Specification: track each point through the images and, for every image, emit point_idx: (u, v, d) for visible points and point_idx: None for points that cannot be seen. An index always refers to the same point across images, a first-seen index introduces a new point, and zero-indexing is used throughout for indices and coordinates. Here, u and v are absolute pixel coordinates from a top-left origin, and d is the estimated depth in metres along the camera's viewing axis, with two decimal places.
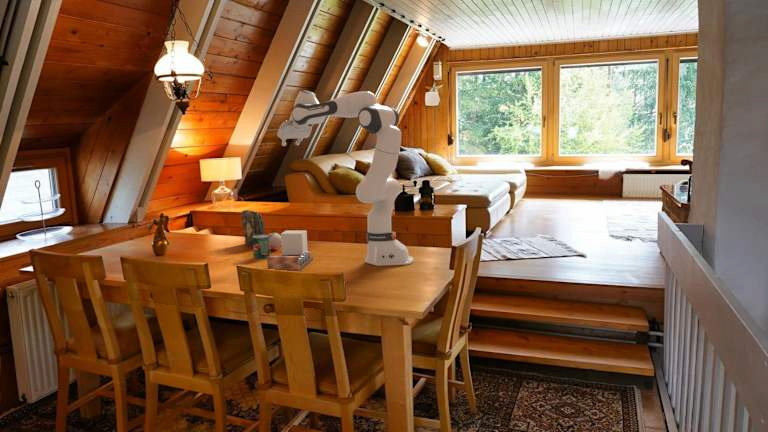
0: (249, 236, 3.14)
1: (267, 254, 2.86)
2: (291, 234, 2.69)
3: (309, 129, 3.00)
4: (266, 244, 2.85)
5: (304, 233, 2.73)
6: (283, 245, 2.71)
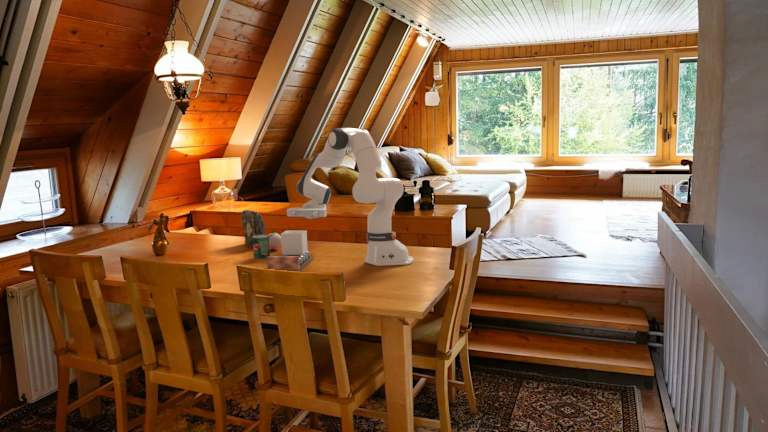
0: (249, 236, 3.14)
1: (267, 254, 2.86)
2: (291, 234, 2.69)
3: (323, 207, 2.97)
4: (266, 244, 2.85)
5: (304, 233, 2.73)
6: (283, 245, 2.71)
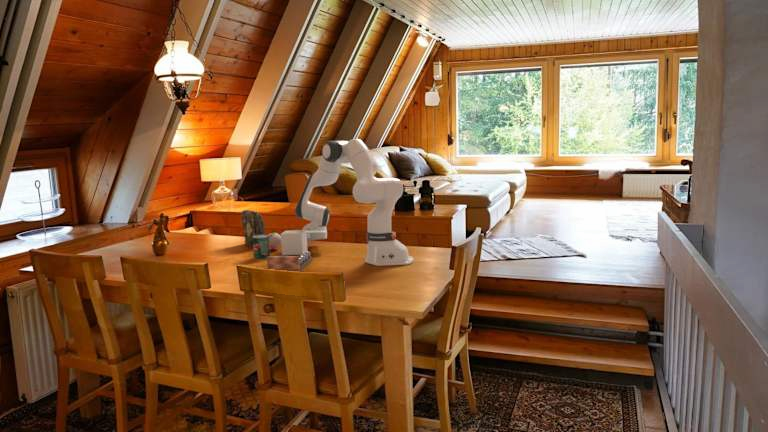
0: (249, 236, 3.14)
1: (267, 254, 2.86)
2: (291, 234, 2.69)
3: (323, 229, 2.96)
4: (266, 244, 2.85)
5: (304, 233, 2.73)
6: (283, 245, 2.71)
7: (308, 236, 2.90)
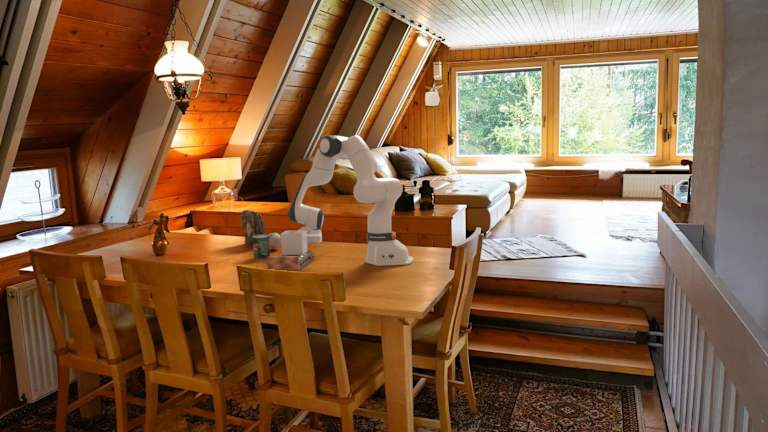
0: (249, 236, 3.14)
1: (267, 254, 2.86)
2: (291, 234, 2.69)
3: (318, 233, 2.86)
4: (266, 244, 2.85)
5: (304, 233, 2.73)
6: (283, 245, 2.71)
7: None
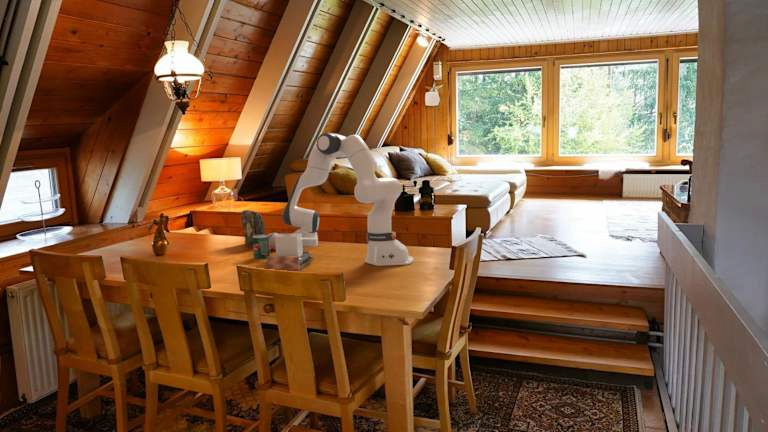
0: (249, 236, 3.14)
1: (267, 254, 2.86)
2: (286, 237, 2.62)
3: (313, 236, 2.78)
4: (266, 244, 2.85)
5: (299, 236, 2.65)
6: (278, 249, 2.63)
7: None
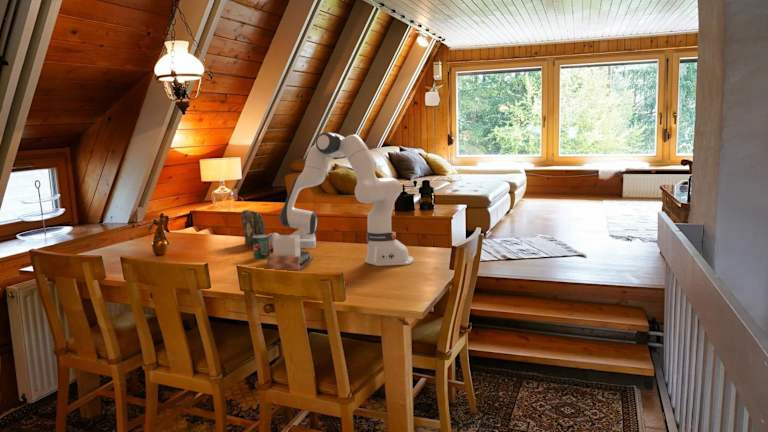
0: (249, 236, 3.14)
1: (267, 254, 2.86)
2: (283, 239, 2.58)
3: (311, 237, 2.75)
4: (266, 244, 2.85)
5: (297, 238, 2.61)
6: (275, 250, 2.59)
7: None
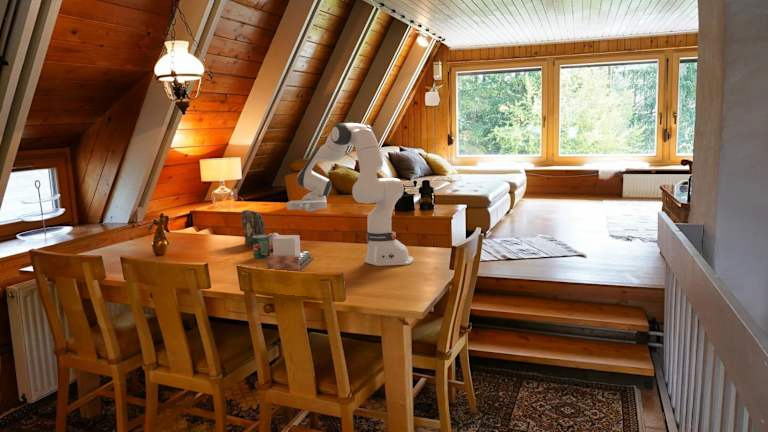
0: (249, 236, 3.14)
1: (267, 254, 2.86)
2: (283, 239, 2.58)
3: (322, 199, 2.96)
4: (266, 244, 2.85)
5: (297, 238, 2.61)
6: (275, 250, 2.59)
7: (308, 206, 2.90)
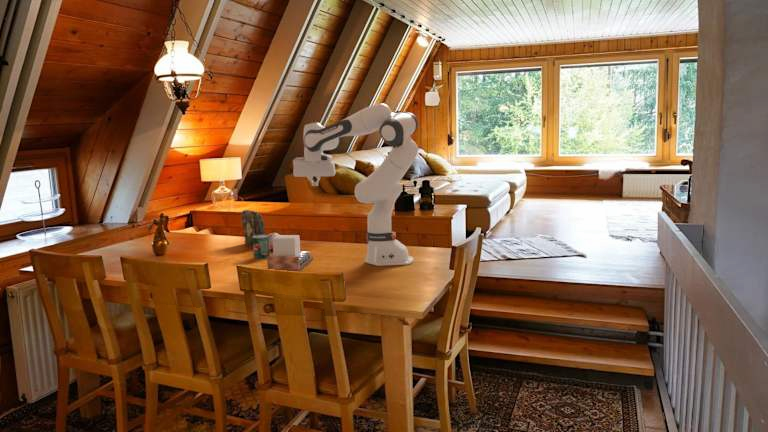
0: (249, 236, 3.14)
1: (267, 254, 2.86)
2: (283, 239, 2.58)
3: (329, 165, 2.76)
4: (266, 244, 2.85)
5: (297, 238, 2.61)
6: (275, 250, 2.59)
7: (318, 180, 2.80)
